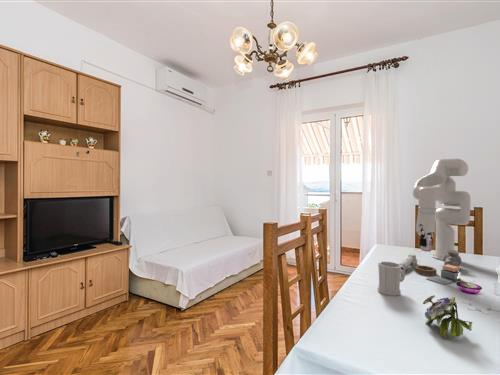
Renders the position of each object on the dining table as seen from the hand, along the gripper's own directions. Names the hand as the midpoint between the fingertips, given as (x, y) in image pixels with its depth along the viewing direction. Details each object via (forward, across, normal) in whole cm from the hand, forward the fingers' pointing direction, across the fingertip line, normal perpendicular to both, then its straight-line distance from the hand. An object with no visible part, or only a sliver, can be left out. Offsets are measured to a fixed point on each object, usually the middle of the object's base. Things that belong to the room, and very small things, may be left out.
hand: (426, 245), depth 144 cm
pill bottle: (+3, 0, 0) cm, 3 cm away
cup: (+14, +41, +7) cm, 44 cm away
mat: (+14, +7, +10) cm, 19 cm away
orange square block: (+13, -1, +11) cm, 18 cm away
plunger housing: (+14, -1, +11) cm, 18 cm away
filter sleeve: (+14, +1, 0) cm, 15 cm away
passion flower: (+14, +54, +35) cm, 66 cm away
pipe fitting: (+15, -19, +3) cm, 25 cm away
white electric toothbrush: (+15, +1, -9) cm, 18 cm away
